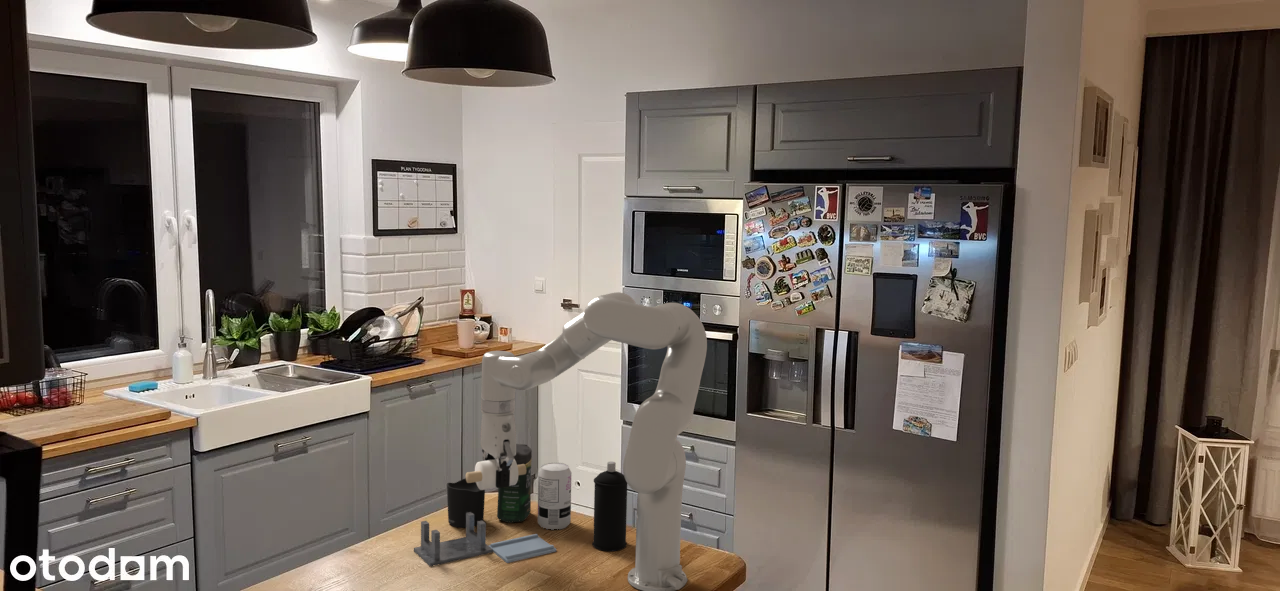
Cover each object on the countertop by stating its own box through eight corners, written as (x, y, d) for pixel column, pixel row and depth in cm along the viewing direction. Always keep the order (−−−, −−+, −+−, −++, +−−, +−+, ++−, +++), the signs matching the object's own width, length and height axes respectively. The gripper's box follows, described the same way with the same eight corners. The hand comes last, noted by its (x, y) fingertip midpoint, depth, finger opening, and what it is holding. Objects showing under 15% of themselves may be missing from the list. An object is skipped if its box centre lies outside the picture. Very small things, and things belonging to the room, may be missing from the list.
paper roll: (517, 478, 204) (518, 452, 203) (529, 486, 199) (530, 459, 198) (461, 487, 196) (462, 460, 196) (472, 495, 191) (473, 467, 190)
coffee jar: (524, 524, 215) (525, 452, 213) (493, 522, 216) (494, 450, 215) (534, 511, 225) (535, 442, 223) (505, 509, 226) (505, 440, 224)
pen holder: (448, 515, 220) (448, 477, 219) (486, 515, 221) (486, 477, 220) (444, 529, 211) (444, 489, 210) (483, 528, 212) (484, 489, 211)
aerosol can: (631, 549, 202) (634, 466, 200) (598, 553, 199) (600, 469, 197) (619, 536, 209) (621, 456, 207) (587, 540, 206) (589, 459, 204)
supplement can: (533, 521, 218) (534, 463, 216) (564, 517, 221) (565, 460, 220) (543, 532, 210) (544, 473, 209) (575, 528, 214) (576, 469, 212)
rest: (536, 537, 207) (536, 532, 207) (556, 551, 199) (556, 546, 199) (487, 548, 200) (488, 542, 200) (506, 563, 192) (507, 557, 192)
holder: (474, 538, 206) (474, 509, 205) (492, 552, 198) (492, 523, 197) (413, 551, 197) (413, 521, 197) (430, 566, 189) (430, 535, 188)
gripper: (529, 412, 190) (527, 491, 192) (497, 396, 205) (495, 469, 207) (498, 416, 186) (496, 496, 188) (467, 399, 201) (466, 473, 203)
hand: (496, 481), depth 197 cm, fingers closed on paper roll, 6 cm apart
